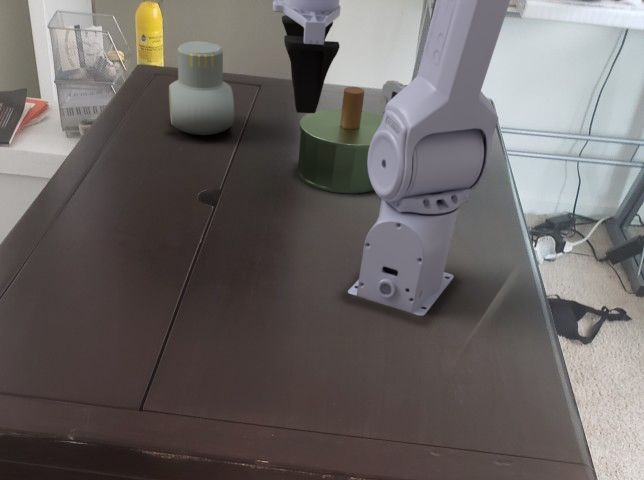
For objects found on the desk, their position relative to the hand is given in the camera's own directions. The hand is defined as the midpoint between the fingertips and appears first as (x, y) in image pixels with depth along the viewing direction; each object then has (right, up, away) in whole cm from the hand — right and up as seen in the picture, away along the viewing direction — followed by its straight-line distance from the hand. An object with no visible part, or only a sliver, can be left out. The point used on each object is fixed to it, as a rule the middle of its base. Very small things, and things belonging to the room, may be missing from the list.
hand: (303, 100), depth 84 cm
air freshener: (-13, +7, +20) cm, 25 cm away
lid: (+6, 0, +7) cm, 9 cm away
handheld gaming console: (+14, +1, +16) cm, 22 cm away
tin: (+5, -4, +11) cm, 12 cm away
